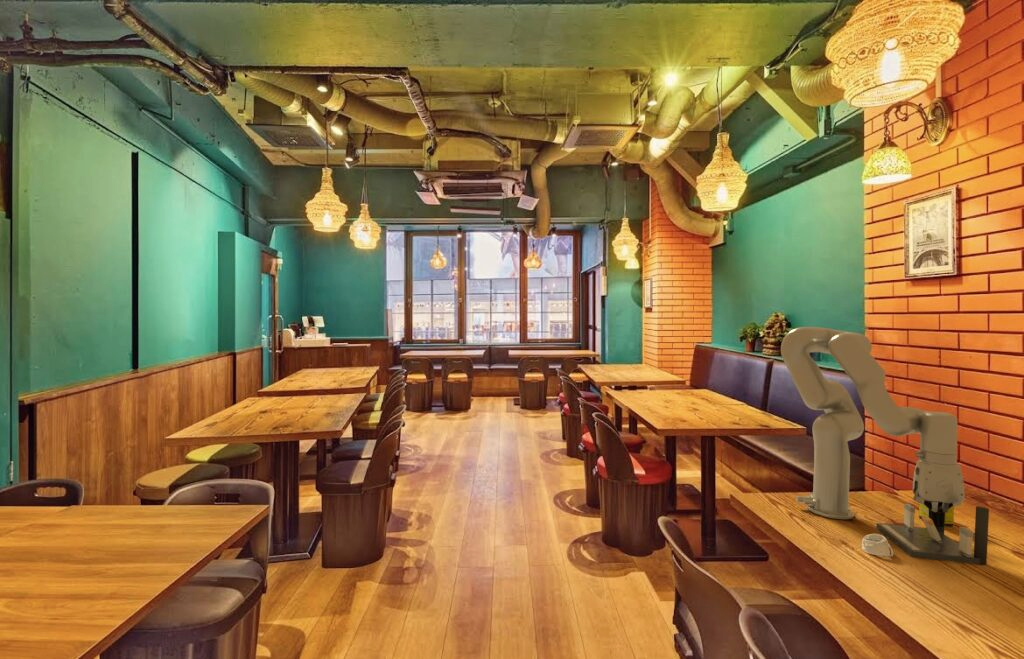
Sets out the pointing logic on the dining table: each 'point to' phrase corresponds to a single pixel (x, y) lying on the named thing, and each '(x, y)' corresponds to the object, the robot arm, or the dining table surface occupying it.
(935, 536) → the cream block orange end
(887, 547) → the grey hollow teardrop piece
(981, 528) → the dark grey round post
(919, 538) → the panel
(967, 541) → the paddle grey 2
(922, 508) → the supplement box
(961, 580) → the dining table surface
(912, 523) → the beige flat bar
